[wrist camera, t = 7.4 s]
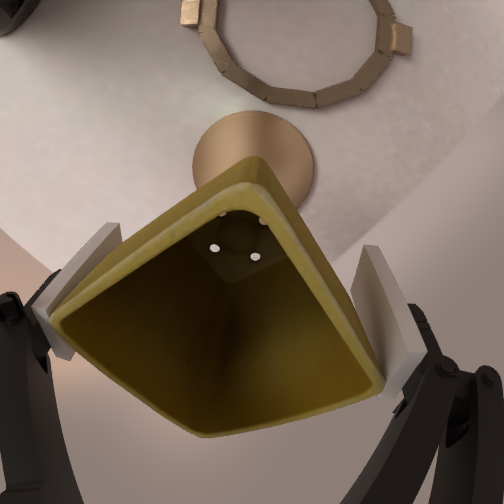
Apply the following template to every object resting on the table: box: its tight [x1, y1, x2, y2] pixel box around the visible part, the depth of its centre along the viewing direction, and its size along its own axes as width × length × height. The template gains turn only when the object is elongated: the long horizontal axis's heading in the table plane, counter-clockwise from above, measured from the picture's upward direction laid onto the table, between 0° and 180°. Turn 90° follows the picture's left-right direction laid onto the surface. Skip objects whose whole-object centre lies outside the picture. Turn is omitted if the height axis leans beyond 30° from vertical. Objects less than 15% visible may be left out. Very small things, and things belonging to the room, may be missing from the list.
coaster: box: [192, 111, 313, 225], centre depth 29 cm, size 12×12×1 cm
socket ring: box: [180, 0, 412, 108], centre depth 20 cm, size 21×18×2 cm
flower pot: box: [49, 156, 385, 438], centre depth 12 cm, size 9×9×9 cm
